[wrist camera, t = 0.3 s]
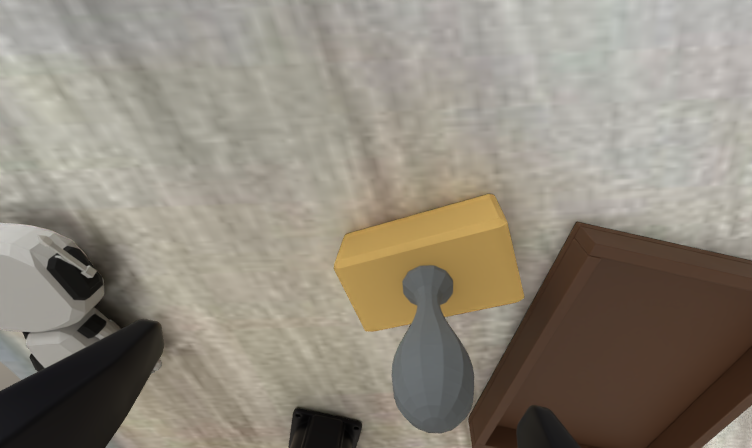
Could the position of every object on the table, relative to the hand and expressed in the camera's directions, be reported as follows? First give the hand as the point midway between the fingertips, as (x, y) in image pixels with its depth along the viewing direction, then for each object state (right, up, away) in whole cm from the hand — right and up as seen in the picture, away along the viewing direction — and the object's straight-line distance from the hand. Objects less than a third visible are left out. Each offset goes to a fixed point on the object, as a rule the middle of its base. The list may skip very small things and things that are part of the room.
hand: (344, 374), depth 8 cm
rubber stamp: (+4, +2, +15) cm, 16 cm away
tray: (+19, -7, +18) cm, 27 cm away
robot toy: (-23, -2, +20) cm, 31 cm away
